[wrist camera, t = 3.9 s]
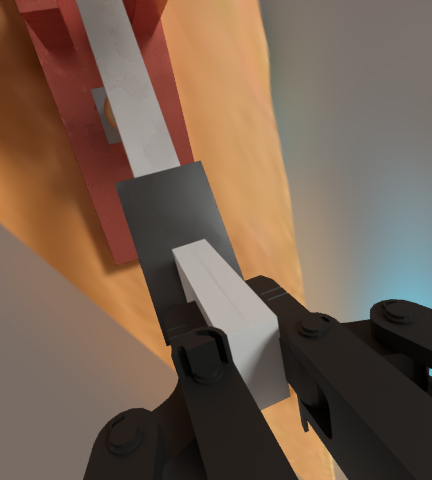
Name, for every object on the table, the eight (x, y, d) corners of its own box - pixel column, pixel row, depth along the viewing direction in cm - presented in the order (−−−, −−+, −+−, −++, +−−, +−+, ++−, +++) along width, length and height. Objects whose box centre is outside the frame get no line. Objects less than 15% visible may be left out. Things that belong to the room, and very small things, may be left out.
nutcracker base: (5, -40, 23) (-64, -155, 14) (137, -54, 25) (152, -161, 16) (116, 258, 32) (118, 305, 23) (206, 229, 34) (240, 262, 25)
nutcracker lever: (48, -27, 19) (32, -72, 17) (119, -35, 20) (113, -79, 18) (166, 339, 16) (166, 346, 14) (243, 310, 17) (255, 311, 15)
